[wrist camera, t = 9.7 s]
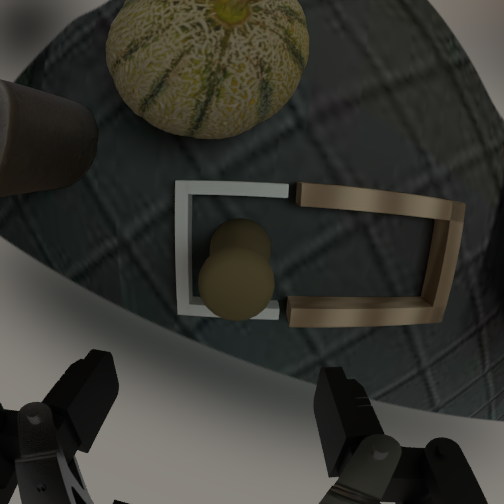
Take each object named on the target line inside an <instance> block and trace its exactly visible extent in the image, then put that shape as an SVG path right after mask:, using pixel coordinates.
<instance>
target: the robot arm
mask: <svg viewBox="0 0 504 504" xmlns="http://www.w3.org/2000/svg"><path fill="white" fill-rule="evenodd" d="M118 390H119V383H118V378H117V374H116V370H115V366H114V361H113V357H112V354H111V353H110V352H106V351H101V350H96V349H92V350H91V351H90V352H89V353H88V355H87V356H86V357H85V359H80V360H78V361H76V362H75V363H73V364H71V365H70V367H69V368H68V369H67V370H66V371H65V374H63V375H62V377H61V378H60V380H59V381H58V382H57V383H56V384H55V385H54V387H53V388H52V389H51V390H50V392H49V393H48V394H47V396H46V397H45V398H44V400H43V401H42V402H32V403H28V404H26V405H25V406H23V407H22V408H21V409H20V411H14V410H5V409H3V407H2V405H1V403H0V504H8V503H9V501H10V499H11V497H12V495H13V493H14V490H15V488H16V486H17V484H18V486H19V492H20V497H21V501H22V504H94V503H93V501H92V500H91V498H90V496H89V494H88V491H87V488H86V486H85V483H84V480H83V478H82V475H81V472H80V469H79V466H78V463H77V460H76V457H75V456H74V455H75V453H76V451H77V450H79V451H82V452H85V453H88V452H89V450H90V448H91V446H92V444H93V442H94V440H95V438H96V436H97V434H98V432H99V430H100V428H101V426H102V424H103V422H104V420H105V418H106V416H107V414H108V413H109V411H110V409H111V407H112V405H113V403H114V401H115V399H116V397H117V395H118ZM314 413H315V418H316V422H317V427H318V431H319V435H320V439H321V444H322V449H323V453H324V457H325V462H326V466H327V471H328V476H329V478H330V477H339V478H338V480H337V482H336V483H335V484H334V486H332V487H331V488H330V489H329V491H328V492H327V493H326V495H325V496H324V498H323V499H322V500H321V502H320V503H319V504H381V503H380V502H395V503H396V504H488V503H487V501H486V499H485V497H484V494H483V492H482V490H481V488H480V486H479V484H478V482H477V480H476V478H475V476H474V474H473V471H472V470H471V467H470V466H469V464H468V462H467V460H466V458H465V456H464V454H463V452H462V450H461V448H460V447H459V445H458V444H457V443H456V442H454V441H453V440H451V439H448V438H443V437H442V438H435V439H433V440H431V441H430V442H429V443H428V444H427V445H426V447H425V448H411V447H402V446H400V444H399V443H398V441H396V440H395V439H394V438H392V437H391V436H388V435H385V434H384V432H383V429H382V427H381V425H380V423H379V420H378V418H377V416H376V414H375V412H374V409H373V407H372V406H371V403H370V400H369V398H368V396H367V394H366V392H365V390H364V387H363V386H362V385H361V384H359V383H358V382H357V381H356V380H355V379H347V378H346V376H345V373H344V371H343V369H342V367H322V368H321V370H320V373H319V378H318V383H317V388H316V392H315V396H314ZM113 504H128V503H125V502H121V501H117V500H114V502H113Z"/></svg>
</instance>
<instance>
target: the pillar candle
mask: <svg viewBox="0 0 504 504" xmlns="http://www.w3.org/2000/svg"><path fill="white" fill-rule="evenodd" d="M97 141H98V130H97V125H96V121H95V119H94V117H93V115H92V113H91V112H90V111H89V110H88V108H87V107H85V106H84V105H82V104H79V103H77V102H74V101H71V100H68V99H65V98H62V97H59V96H56V95H52V94H49V93H46V92H43V91H40V90H36V89H33V88H30V87H26V86H23V85H19V84H16V83H12V82H9V81H4V80H0V197H4V196H9V195H15V194H22V193H30V192H34V191H44V190H50V189H58V188H63V187H67V186H70V185H72V184H74V183H75V182H77V181H78V180H79V179H80V178H82V177H83V175H84V174H85V173H86V172H87V171H88V169H89V167H90V165H91V163H92V162H93V160H94V157H95V155H96V148H97Z"/></svg>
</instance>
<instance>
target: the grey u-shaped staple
mask: <svg viewBox="0 0 504 504" xmlns="http://www.w3.org/2000/svg"><path fill="white" fill-rule="evenodd" d="M288 190H289V184H285V183H268V182H248V181H220V180H176V181H175V261H176V290H177V310H178V315H191V316H206V317H219V316H217V315H215V314H213V313H212V312H211V311H210V310H209V309H208V308H207V307H206V306H205V304H204V302H203V301H202V299H201V297H194V296H193V293H192V194H206V195H237V196H260V197H279V198H288ZM250 319H270V320H279V304H278V300H270V302H269V303H268V305H267V306H266V308H265V309H264V310H263V311H262V312H260V313H259V314H258V315H257V316H255V317H252V318H250Z"/></svg>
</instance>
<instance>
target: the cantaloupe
mask: <svg viewBox="0 0 504 504" xmlns="http://www.w3.org/2000/svg"><path fill="white" fill-rule="evenodd" d="M308 55H309V35H308V31H307V26H306V19H305V16H304V13H303V10H302V8H301V5H300V4H299V3H298V1H297V0H126V1H125V3H124V5H123V7H122V9H121V10H120V12H119V14H118V15H117V17H116V18H115V20H114V21H113V23H112V24H111V29H110V31H109V35H108V39H107V42H106V61H107V66H108V68H109V72H110V74H111V75H112V77H113V79H114V83H115V86H116V89H117V90H118V92H119V94H120V96H121V97H122V98H123V101H124V102H125V103H126V104H127V105H128V106H129V107H130V108H131V109H132V110H133V112H134V113H135V114H136V115H138V116H141V117H142V118H144V119H145V120H146V121H147V122H149V123H150V124H151V125H153V126H155V127H157V128H159V129H162V130H163V131H165V132H169V133H172V134H175V135H180V136H189V137H194V138H198V139H222V138H227V137H232V136H236V135H238V134H241V133H242V132H244V131H247V130H250V129H251V128H252V127H254V126H255V125H257V124H259V123H261V122H263V121H265V120H266V119H268V118H270V117H271V116H272V115H274V114H276V113H277V112H278V111H279V110H280V109H281V108H282V107H283V106H284V105H285V104H286V103H287V101H288V100H289V99H290V97H291V96H292V94H293V93H294V91H295V90H296V88H297V86H298V84H299V81H300V79H301V76H302V74H303V71H304V69H305V66H306V63H307V60H308Z"/></svg>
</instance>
